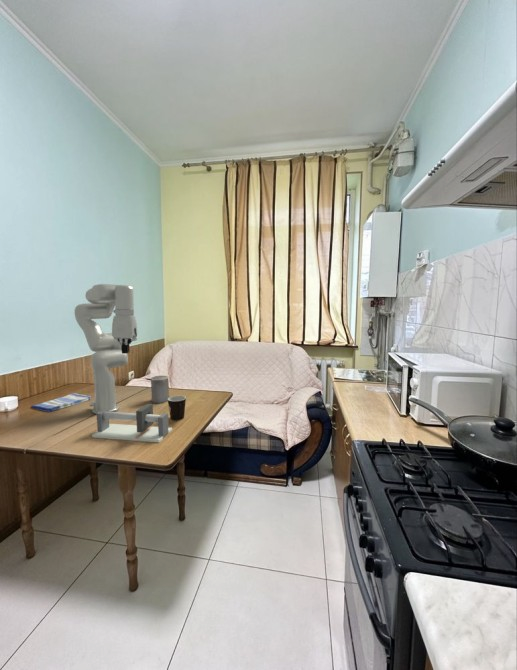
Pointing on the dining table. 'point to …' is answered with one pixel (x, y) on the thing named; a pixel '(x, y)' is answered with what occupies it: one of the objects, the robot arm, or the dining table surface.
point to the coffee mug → (177, 407)
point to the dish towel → (62, 402)
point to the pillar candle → (160, 389)
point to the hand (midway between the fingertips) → (125, 352)
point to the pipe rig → (131, 427)
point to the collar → (143, 417)
